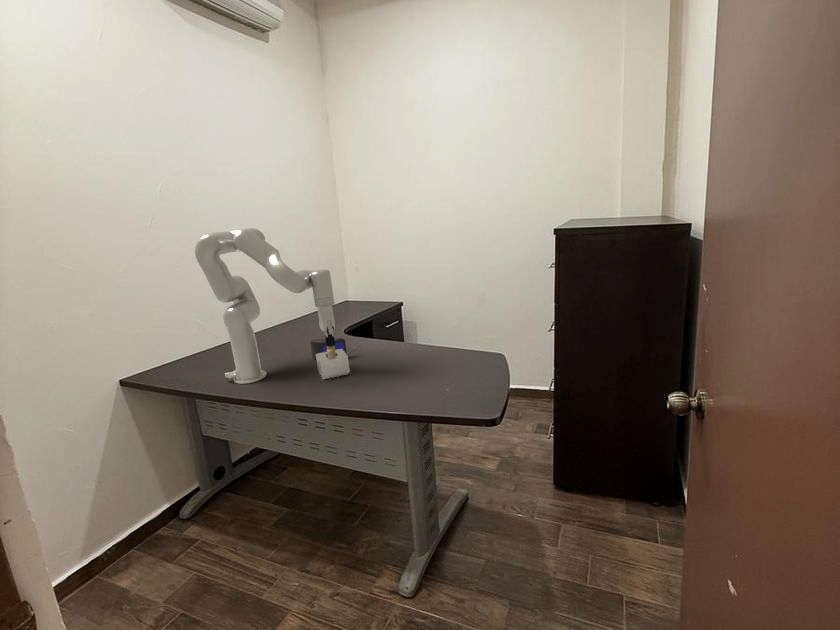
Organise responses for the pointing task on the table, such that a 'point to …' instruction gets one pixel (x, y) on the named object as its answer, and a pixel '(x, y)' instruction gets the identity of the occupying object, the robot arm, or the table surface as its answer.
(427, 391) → the table surface
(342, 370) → the bore block
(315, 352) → the leaning round-cornered charcoal block
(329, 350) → the dowel
